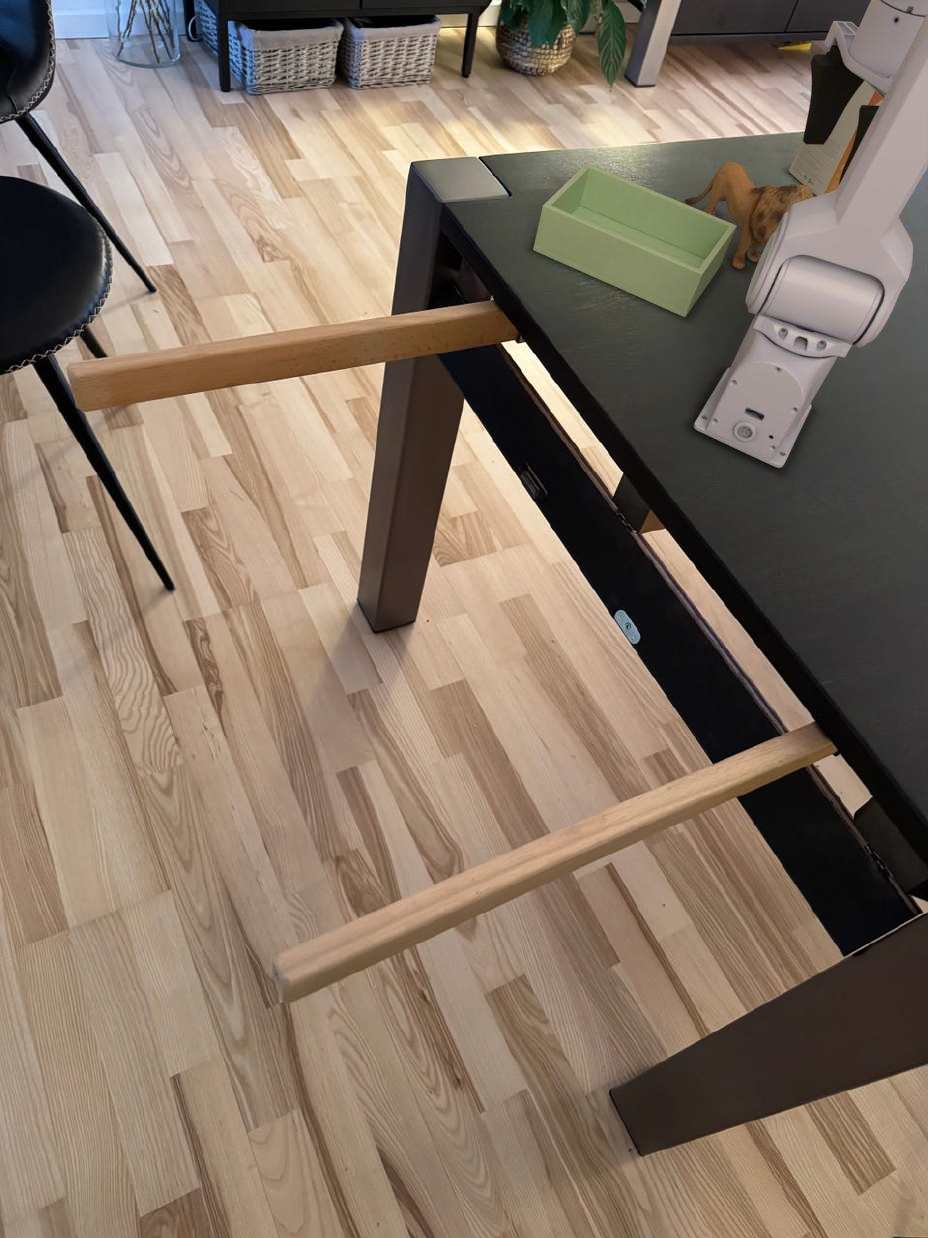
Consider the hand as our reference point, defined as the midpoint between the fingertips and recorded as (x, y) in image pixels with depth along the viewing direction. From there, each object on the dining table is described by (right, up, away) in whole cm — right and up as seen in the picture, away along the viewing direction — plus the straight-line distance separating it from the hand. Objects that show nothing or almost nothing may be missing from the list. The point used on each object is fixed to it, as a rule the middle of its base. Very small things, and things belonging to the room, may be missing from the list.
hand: (830, 163), depth 84 cm
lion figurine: (-7, -5, +8) cm, 11 cm away
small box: (+7, +7, +19) cm, 21 cm away
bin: (-19, -8, +4) cm, 20 cm away
